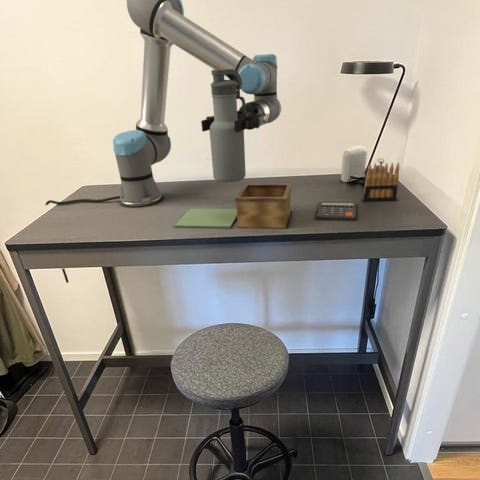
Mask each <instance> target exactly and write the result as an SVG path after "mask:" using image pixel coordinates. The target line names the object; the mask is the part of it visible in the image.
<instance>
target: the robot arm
mask: <svg viewBox="0 0 480 480" xmlns="http://www.w3.org/2000/svg"><path fill="white" fill-rule="evenodd" d="M126 8H127V12H128V16H129V17H130V19H131V21H132V22H133V24H134V25H135V26H137V28H139V30H140V31H139V34H140V36H141V38H142V39H143V41H144V42H143V44H144V45H143V61H142V63H143V64H142V83H141V85H142V86H141V88H142V89H141V102H140V103H141V105H140V118H139V119H138V120H137V121H136V122H135V129H132V130H126V131H123V132H120V133H118V134H116V135H115V136H114V137H113V138H112V145H113V152H114V155H115V156H114V157H115V160H116V164H117V169H118V173H119V178H120V192H119V195H117V196H111V197H105V198H101V199H99V198H98V199H93V198H81V199H80V198H79V199H78V198H77V199H71V200H65V201H56V200H54V199H53V200H52V199H51V200H47V201H46V202H45V204H44V205H45V206H48V205H49V204H54V205H67V204H73V203H82V202H87V203H89V202H90V203H103V202H109V201H113V200H119V201H120V204H121V205H122V206H123V207H129V208H138V207H146V206H151V205H154V204H157V203H158V202H160V201H161V200H162V199H163V197H162V193H161V191H160V188H159V186H158V185H157V184H158V183H156V181H155V178H154V175H153V174H154V173H153V169H152V166H153V165H155V164H158V163H160V162H162V161H164V160H165V159H166V158H167V157H168V156H169V154H170V152H171V148H172V141H171V137H170V136H169V133H168V132H169V127H168V126H167V124H166V123H165V120H166V108H167V98H168V97H167V96H168V87H169V86H168V84H169V73H170V60H171V49H172V46H173V45H174V46H176V47H177V48H179V49H181V50H182V51H184V52H186V53H187V54H188V55H190V56H192V57H194V58H195V59H197V60H198V61H200V62H202V63H203V64H205V65H206V66H207V67H209V68H211V70H220V69H234V70H236V71H237V72H238V73H239V75H240V77H241V80H242V89H240V91H242V92H243V93H244V94H246V95H253V100H251V101H248V102H245V112H246V113H245V116H244V117H237V118H238V120H237V121H234V122H235V132H239V131H242V130H244V131H245V130H249V131H250V130H251V131H252V130H254V129H257V130H259V128H260V127H261V126H264V125H267V124H270V123H273V122H274V121H276V120H277V119H278V118H279V117H280V115H281V113H282V105H281V104H282V103H281V101H280V100H279V99H278V60H277V55H276V54H274V53H269V54H255V55H254V56H253V57H252V58H251V57H249V56H247V55H245V54H244V53H243V52H241V51H240V50H238V49H237V48H235V47H233V46H231V45H230V44H228V43H227V42H225V41H224V40H222V39H221V38H219V37H217V36H216V35H214V34H213V33H211V32H210V31H209V30H207V29H205V28H204V27H202V26H200V25H199V24H197V23H196V22H194V21H192V20H191V19H189V18H188V17H186V16H185V12H184V11H185V10H184V6H183V2H182V0H126ZM224 78H227V80H230V79H229V78H228V76H226V75H224ZM241 114H242V105H241V106H240V107H239V109H238V110H237V115H241ZM213 122H214V115H210V116H208V115H207V116H206V118H205V119H203V120H202V119H201V121H200V124H201V132H207V131H209V128H210V125H211V124H212V123H213ZM61 270H62V273H63V276H64V280H65V283H67V284H68V283H69V282H70V281H69V278H68V276H67V273H66V272H67V271H66V269H65V268H64V269H62V268H61Z"/></svg>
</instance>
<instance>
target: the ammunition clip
mask: <svg viewBox="0 0 480 480" xmlns="http://www.w3.org/2000/svg"><path fill="white" fill-rule="evenodd" d="M379 165H380V166H379V170H378V175H377V176H376V172H377V166H378V165H377V163H374V165H373V168H372V164H371V163H369V164H368V166H367V171H366V175H365V181H364V188H363V194H362V201H363V202H394V201H397V196H398V195H397V194H398V184H399V178H400V177H399V176H400V162H397V163H396V166H395V169H394V162H391V164H390V166H389V164H388V162H386V163H385V165H384V167H385V168H384V172H383V176H382V166H383V163H381V164H380V163H379ZM388 168H389V169H388ZM372 169H373V173H372V177H371V171H372ZM387 173H388V178H387ZM376 177H377V179H376ZM381 181H382V182H381Z"/></svg>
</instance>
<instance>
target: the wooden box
mask: <svg viewBox="0 0 480 480" xmlns="http://www.w3.org/2000/svg"><path fill="white" fill-rule="evenodd" d="M291 193H292V183H244V185H243V186H242V188H241V189H240V191H239V192H238V194H237V195H236V196H235V199H234V201H235V202H236V204H235V205H236V209H237V218H236V219H237V228H246V229H247V228H252V229H255V228H256V229H257V228H258V229H286V228H287V225H288V221H289V219H290V215H291V212H292V211H291V209H292V208H291V207H292V206H291V202H292V201H291V200H292V199H291V198H292V194H291Z"/></svg>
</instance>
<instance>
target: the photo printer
mask: <svg viewBox="0 0 480 480" xmlns="http://www.w3.org/2000/svg"><path fill="white" fill-rule="evenodd" d="M367 156H368V150H367V147H366V146H363V145H354V146H351V147H349V148H347V149H346V150H344V152H343V155H342V164H341V173H340V174H341V175H340V181H342V182H343V183H348V182H353V181H357V180H358V179H351V180H349V179H350V176H351V175H354V174H358V173H362V172H364V171H365V172H366V165H367Z"/></svg>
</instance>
